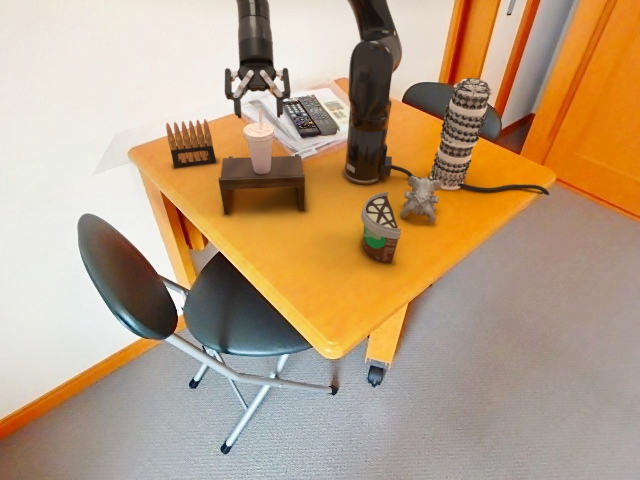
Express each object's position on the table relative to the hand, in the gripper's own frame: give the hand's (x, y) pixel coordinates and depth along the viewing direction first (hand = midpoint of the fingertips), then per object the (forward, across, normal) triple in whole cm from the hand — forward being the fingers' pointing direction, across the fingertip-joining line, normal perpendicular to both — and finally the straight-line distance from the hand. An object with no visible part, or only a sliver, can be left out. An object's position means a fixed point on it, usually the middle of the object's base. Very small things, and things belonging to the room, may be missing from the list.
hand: (259, 116), depth 87 cm
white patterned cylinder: (+14, +46, +10) cm, 49 cm away
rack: (+14, 0, +10) cm, 17 cm away
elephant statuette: (+22, +35, +2) cm, 41 cm away
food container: (+30, +22, -6) cm, 38 cm away
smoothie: (+12, 0, +1) cm, 12 cm away
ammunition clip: (+6, -18, +19) cm, 26 cm away
